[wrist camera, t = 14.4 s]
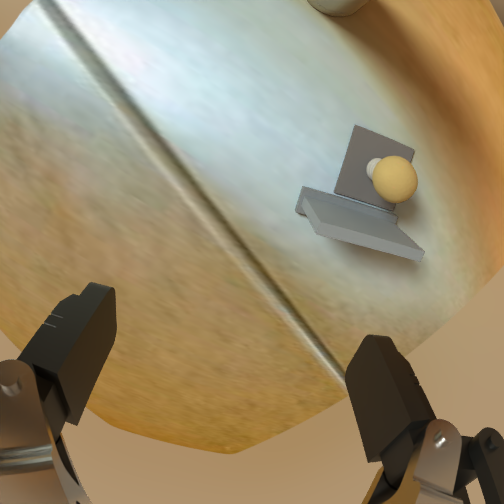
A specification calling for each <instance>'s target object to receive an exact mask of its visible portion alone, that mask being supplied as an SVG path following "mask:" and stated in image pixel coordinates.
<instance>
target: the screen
mask: <svg viewBox="0 0 504 504" xmlns="http://www.w3.org/2000/svg"><path fill="white" fill-rule="evenodd" d="M295 212H296V213H300V214H304V215H306V216H307V218H308V219H309V221H310V223H311V225H312V227H313V229H314V231H315V233H316V234H317V235H321V236H325V237H329V238H333V239H337V240H341V241H345V242H349V243H352V244H356V245H360V246H364V247H367V248H371V249H375V250H379V251H382V252H386V253H390V254H393V255H397V256H400V257H404V258H408V259H411V260H415V261H418V262H421V259H422V257H423V255H424V253H425V251H424V250H423V249H422V248H420V247H419V246H418V245H417V244H416V243H415V242H414V241H413V240H412V239H411V238H410V237H409V236H408V235H407V234H405V233H404V232H403V231H402V230H401V229H400V228H399V227H398V226H397V225H395V224H396V221H397V219H398V216H397V215H395V214H392V213H389V212H386V211H383V210H380V209H377V208H374V207H371V206H368V205H365V204H361V203H358V202H355V201H352V200H349V199H345V198H342V197H339V196H335V195H332V194H329V193H325V192H322V191H318V190H315V189H311V188H308V187H304V186H302V189H301V193H300V196H299V199H298V202H297V205H296V209H295Z"/></svg>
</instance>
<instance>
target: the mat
mask: <svg viewBox="0 0 504 504" xmlns="http://www.w3.org/2000/svg"><path fill="white" fill-rule="evenodd" d="M413 153H414V149H412V148H410V147H407V146H405V145H403V144H401V143H399V142H396V141H394V140H392V139H389V138H387V137H385V136H382V135H380V134H378V133H375V132H373V131H370V130H368V129H365V128H362V127H360V126H357V125H355V126H354V129H353V132H352V136H351V139H350V142H349V146H348V149H347V152H346V155H345V159H344V162H343V165H342V168H341V171H340V174H339V177H338V180H337V183H336V186H335V190H334V192H335V193H338V194H341V195H345V196H348V197H351V198H354V199H357V200H361V201H364V202H367V203H370V204H373V205H376V206H379V207H382V208H385V209H388V210H391V211H393V210H394V208H395V205H396V203H391V202H388V201H386V200H384V199H383V198H382V197H380V196H379V194H378V193H377V192H376V190H375V188H374V186H373V181H372V180H371V179H370V178H369V177H368V175H367V172H366V169H367V165H368V163H369V162H370V161H371V160H372V159H375V158H380V159H383V158H385V157H388V156H400V157H402V158H404V159H406V160H407V161H409V162H411V159H412V156H413Z"/></svg>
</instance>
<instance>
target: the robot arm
mask: <svg viewBox="0 0 504 504" xmlns="http://www.w3.org/2000/svg"><path fill="white" fill-rule="evenodd" d="M307 1H308V2H309V3H310V4H311V5H312V6H313V7H314V8H316V9H317V10H319V11H320V12H323V13H325V14H328V15H331V16H339V17H340V16H347V15H351V14H353V13H354V12H356V11H357V10H358V9H359V8H361V7H362V6H363V5H364V4H366V3H367V2H368V1H369V0H307ZM116 330H117V323H116V298H115V289H114V288H113V287H109V286H105V285H101V284H97V283H93V282H90V283H89V284H88V285H87V286H86V288H85V289H84V290H83V292H82V293H81V294H80V295H79V296H78V295H75V294H72V295H70V296H69V297H67V298H65V299H64V300H62V301H60V302H59V303H58V305H57V306H56V307H55V308H54V310H53V311H52V312H51V315H49V316H48V317H47V319H46V320H45V321H44V324H42V325H41V326H40V328H39V329H38V330H37V332H36V333H35V335H34V336H33V337H32V339H31V340H30V341H29V343H28V344H27V346H26V347H25V348H24V350H23V351H22V353H21V354H20V356H19V357H18V358H17V359H16V360H14V359H11V360H10V359H9V360H4V361H1V362H0V504H92V502H91V501H90V499H89V497H88V496H87V494H86V492H85V490H84V489H83V487H82V485H81V482H80V480H79V477H78V476H77V473H76V470H75V468H74V465H73V463H72V460H71V458H70V455H69V452H68V450H67V447H66V444H65V441H64V438H63V436H62V433H61V431H62V428H63V426H64V424H65V421H66V422H68V423H71V424H73V425H76V426H77V425H78V423H79V420H80V418H81V415H82V413H83V411H84V408H85V406H86V404H87V401H88V399H89V397H90V394H91V392H92V390H93V387H94V385H95V383H96V381H97V378H98V376H99V374H100V372H101V370H102V367H103V365H104V363H105V361H106V359H107V357H108V355H109V352H110V350H111V348H112V346H113V344H114V341H115V337H116ZM345 383H346V387H347V390H348V393H349V397H350V400H351V403H352V407H353V410H354V414H355V417H356V421H357V424H358V428H359V431H360V435H361V439H362V442H363V446H364V450H365V453H366V457H367V461H368V463H370V462H378V461H382V464H383V466H382V467H381V468H380V469H379V470H378V472H377V474H376V476H375V478H374V480H373V482H372V484H371V486H370V488H369V490H368V492H367V494H366V496H365V498H364V500H363V502H362V504H470V500H469V497H468V494H467V490H466V487H465V486H466V485H468V484H469V483H471V482H472V481H473V480H475V479H476V478H477V477H478V480H479V483H480V486H481V489H482V493H483V496H484V499H485V502H486V504H504V439H503V438H502V436H501V435H500V434H499V432H497V431H496V430H495V429H493V428H488V427H487V428H484V429H482V430H481V431H480V432H479V433H478V434H477V435H476V436H475V437H468V436H461V435H460V433H459V432H458V430H457V428H456V427H455V426H454V425H453V424H451V423H450V422H448V421H446V420H443V419H437V418H436V416H435V414H434V412H433V410H432V408H431V406H430V404H429V401H428V399H427V397H426V395H425V393H424V391H423V389H422V387H421V386H419V381H418V379H417V377H416V376H415V373H414V371H413V369H412V367H411V365H410V363H409V362H408V361H407V360H406V359H405V358H404V357H403V356H402V355H401V353H400V352H398V351H397V349H396V347H395V345H394V343H393V341H392V339H391V338H390V337H388V336H380V335H367V336H366V337H365V338H364V339H363V341H362V343H361V345H360V346H359V348H358V350H357V352H356V353H355V355H354V357H353V358H352V360H351V362H350V363H349V365H348V367H347V370H346V374H345Z"/></svg>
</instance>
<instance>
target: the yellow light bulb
mask: <svg viewBox="0 0 504 504" xmlns="http://www.w3.org/2000/svg"><path fill="white" fill-rule="evenodd" d="M366 172H367V175H368V177H369V178H370V179H371V180H372V181H373V186H374V188H375V190H376V192H377V193H378V194H379V196H380V197H382V198H383V199H384V200H386V201H388V202H391V203H401V202H404V201H406V200H407V199H409V198H410V197H411V196H412V195H413V194H414V192H415V191H416V189H417V185H418V179H417V174H416V171H415V169H414V167H413V166H412V165H411V163H410V162H409V161H407V160H406V159H404V158H402V157H400V156H388V157H385V158H383V159H380V158H375V159H372V160H371V161H370V162H369V163H368V165H367V169H366Z"/></svg>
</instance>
